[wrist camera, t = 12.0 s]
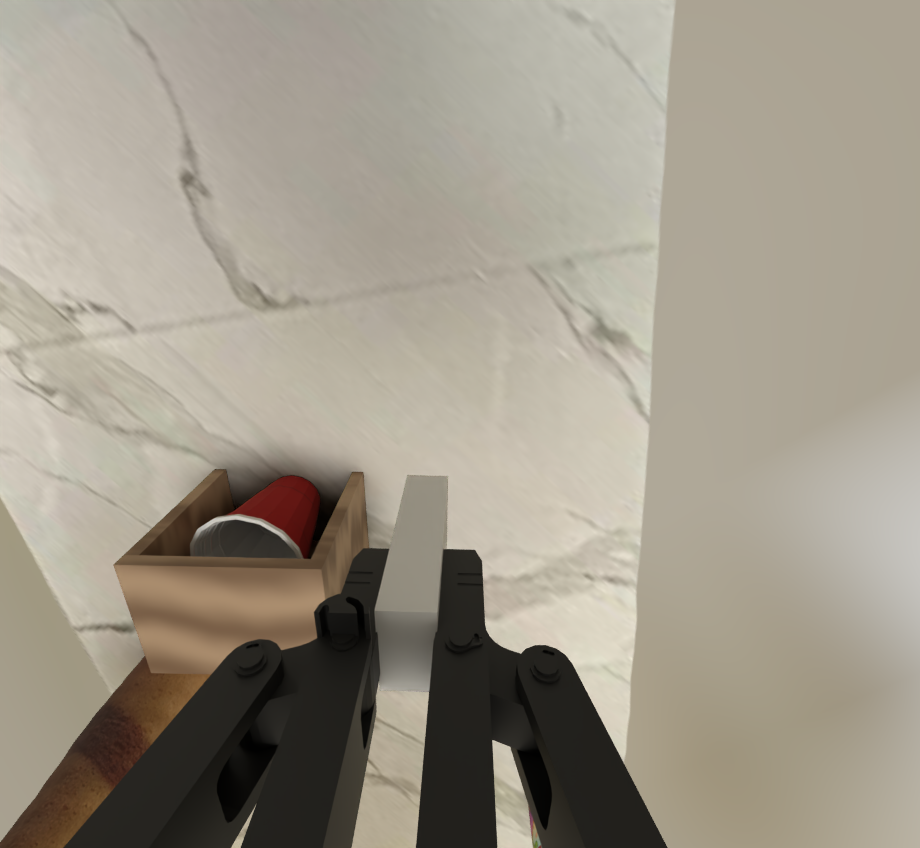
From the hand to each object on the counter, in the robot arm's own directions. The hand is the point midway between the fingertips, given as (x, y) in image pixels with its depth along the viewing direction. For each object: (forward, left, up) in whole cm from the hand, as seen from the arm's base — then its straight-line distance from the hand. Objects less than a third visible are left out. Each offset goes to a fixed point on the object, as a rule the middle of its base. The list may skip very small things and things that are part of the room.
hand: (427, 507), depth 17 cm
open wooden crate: (+21, -18, -29) cm, 40 cm away
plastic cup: (+18, -18, -30) cm, 39 cm away
